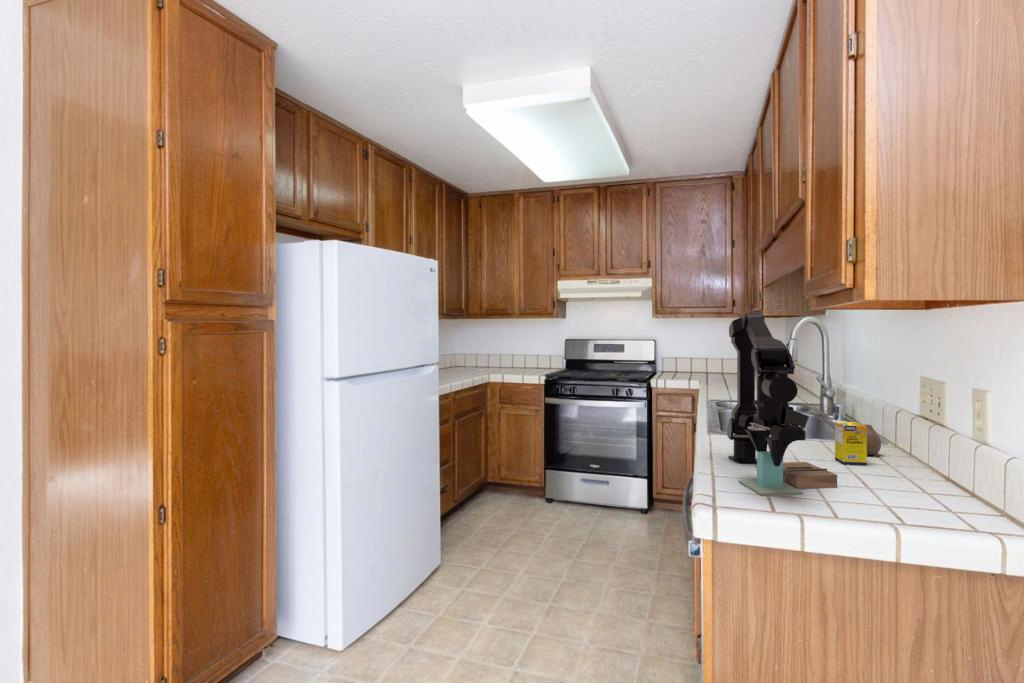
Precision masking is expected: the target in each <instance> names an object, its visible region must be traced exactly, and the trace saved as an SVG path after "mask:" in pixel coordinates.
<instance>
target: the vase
mask: <svg viewBox="0 0 1024 683" xmlns="http://www.w3.org/2000/svg"><path fill="white" fill-rule="evenodd" d="M862 424H863V423H862ZM863 425H865V426H867V455H875V456H876V455H878V453H879V452H880V450H881V449H882V440H881V438H880V435H879V434H878V433H877V431H876V430H875V429H874V427H873V425H871V424H865V423H864V424H863Z"/></svg>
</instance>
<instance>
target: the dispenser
mask: <svg viewBox="0 0 1024 683" xmlns="http://www.w3.org/2000/svg"><path fill="white" fill-rule="evenodd" d="M783 482H784V483H786V484H788V485H790V486H792V487H794V488H796V489H798V490H800V489H825V488H826V489H827V488H830V489H831V488H838V474H837V473H834V472H831V471H829V470H828V468H826V467H825V468H824V467H823V468H821V467H819V466H816V465H814V464H812V463H810V462H807V461H789V462H786V461H785V462H784V461H783Z"/></svg>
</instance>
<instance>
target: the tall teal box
mask: <svg viewBox="0 0 1024 683" xmlns="http://www.w3.org/2000/svg"><path fill="white" fill-rule="evenodd" d="M756 459H757V463H756V480H757V485H758V486H760V487H762V488H773V487H783V462H784V458H783V459H782V461H781V464H780V466H774V463H773V461H772V457H771V454H770V450H767V451H756Z"/></svg>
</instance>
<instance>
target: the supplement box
mask: <svg viewBox="0 0 1024 683" xmlns="http://www.w3.org/2000/svg"><path fill="white" fill-rule="evenodd" d="M834 436H835V437H834V460H835V461H837V462H838V463H840V464H842V465H847V464H855V465H854V466H867V465H868V464H867V463H868V460H867V459H868V456H867V426H865V425H863V423H860V422H858V421H857V422H855V421H835V422H834Z"/></svg>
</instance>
